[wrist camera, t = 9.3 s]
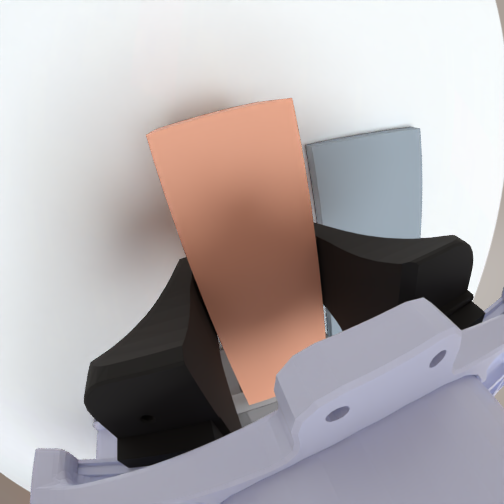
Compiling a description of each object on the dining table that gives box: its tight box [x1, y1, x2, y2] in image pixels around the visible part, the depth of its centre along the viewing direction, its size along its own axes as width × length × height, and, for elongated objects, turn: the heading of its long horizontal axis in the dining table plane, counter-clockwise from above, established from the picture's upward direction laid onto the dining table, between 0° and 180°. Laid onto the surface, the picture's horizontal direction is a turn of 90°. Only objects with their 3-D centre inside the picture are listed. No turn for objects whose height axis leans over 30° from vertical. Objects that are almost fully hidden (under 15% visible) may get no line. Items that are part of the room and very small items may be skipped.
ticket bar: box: [146, 98, 326, 405], centre depth 12 cm, size 4×12×4 cm, turn 12°
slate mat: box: [306, 127, 422, 337], centre depth 19 cm, size 8×16×1 cm, turn 12°
